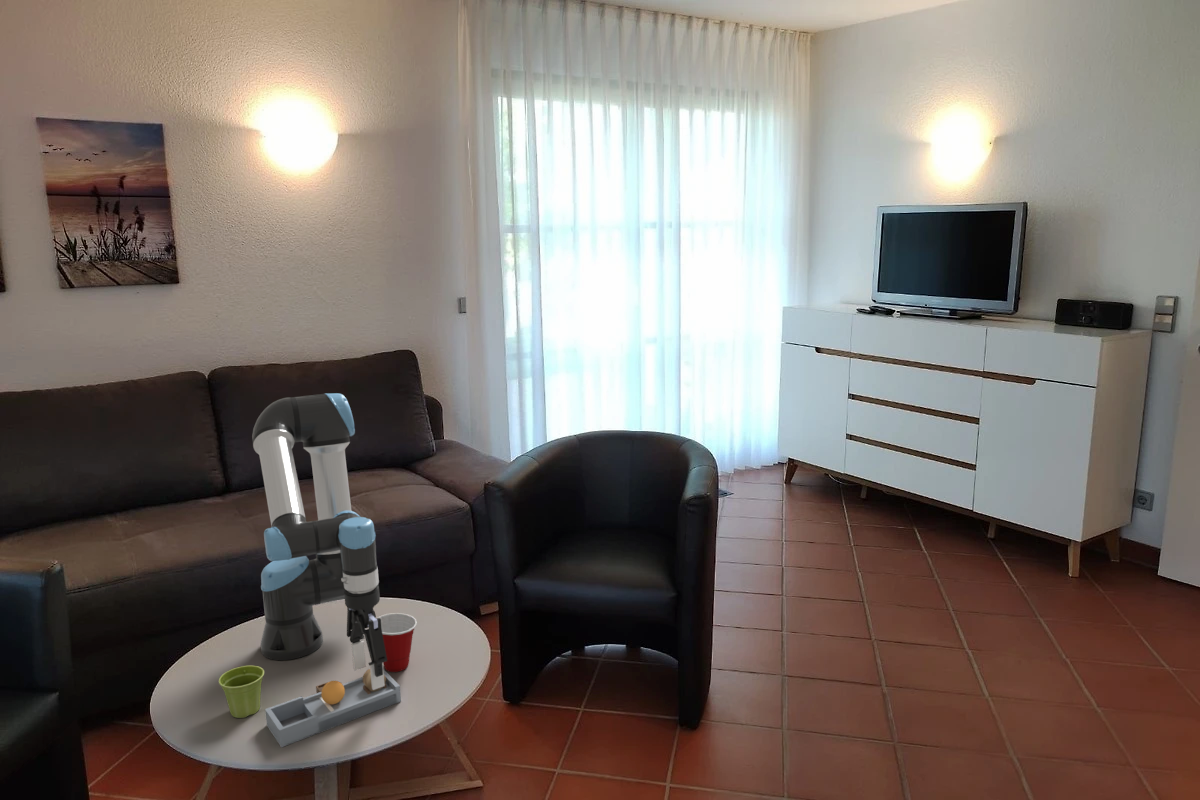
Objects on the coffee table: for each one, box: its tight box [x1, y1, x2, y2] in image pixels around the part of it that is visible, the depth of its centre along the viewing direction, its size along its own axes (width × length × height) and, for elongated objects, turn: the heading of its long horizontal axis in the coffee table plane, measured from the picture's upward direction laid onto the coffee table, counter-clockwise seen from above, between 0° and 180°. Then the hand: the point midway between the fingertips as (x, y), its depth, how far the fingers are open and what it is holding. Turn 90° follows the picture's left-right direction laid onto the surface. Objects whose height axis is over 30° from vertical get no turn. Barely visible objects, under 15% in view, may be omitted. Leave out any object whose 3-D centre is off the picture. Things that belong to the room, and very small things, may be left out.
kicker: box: [362, 668, 387, 694], centre depth 191 cm, size 3×4×4 cm
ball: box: [321, 680, 345, 704], centre depth 186 cm, size 5×5×5 cm
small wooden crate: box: [315, 681, 329, 694], centre depth 193 cm, size 3×3×3 cm
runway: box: [264, 668, 402, 748], centre depth 186 cm, size 10×27×4 cm, turn 128°
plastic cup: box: [377, 612, 418, 673], centre depth 205 cm, size 11×11×12 cm
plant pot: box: [218, 665, 265, 719], centre depth 187 cm, size 9×9×9 cm
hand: (368, 677), depth 191 cm, fingers open, 10 cm apart
